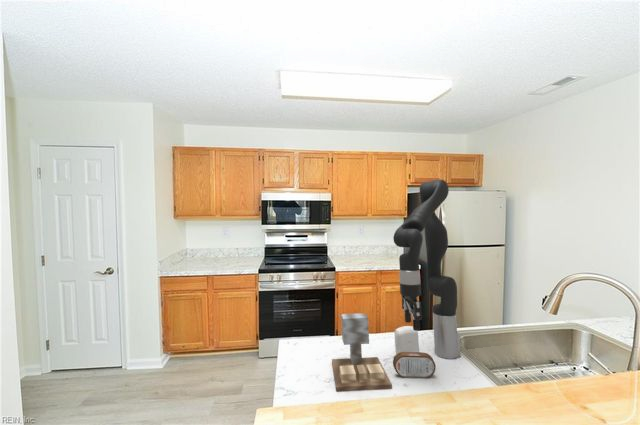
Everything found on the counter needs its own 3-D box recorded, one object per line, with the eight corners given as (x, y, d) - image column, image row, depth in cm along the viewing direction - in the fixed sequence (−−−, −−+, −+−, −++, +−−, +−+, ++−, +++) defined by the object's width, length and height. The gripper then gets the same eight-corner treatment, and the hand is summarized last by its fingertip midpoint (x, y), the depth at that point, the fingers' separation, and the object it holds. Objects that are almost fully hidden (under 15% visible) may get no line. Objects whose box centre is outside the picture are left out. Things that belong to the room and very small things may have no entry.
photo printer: (399, 360, 113) (397, 329, 113) (394, 355, 117) (392, 326, 118) (421, 356, 115) (419, 326, 116) (415, 352, 119) (413, 323, 120)
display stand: (377, 360, 113) (375, 312, 114) (392, 388, 93) (389, 330, 94) (332, 362, 112) (330, 314, 113) (336, 391, 92) (334, 332, 93)
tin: (434, 374, 101) (433, 351, 101) (437, 379, 98) (436, 355, 98) (393, 373, 102) (392, 350, 103) (394, 378, 99) (393, 354, 100)
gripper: (427, 285, 95) (430, 332, 94) (412, 278, 109) (414, 319, 108) (406, 286, 95) (409, 333, 94) (394, 278, 109) (396, 320, 108)
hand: (412, 326), depth 101 cm, fingers open, 8 cm apart
